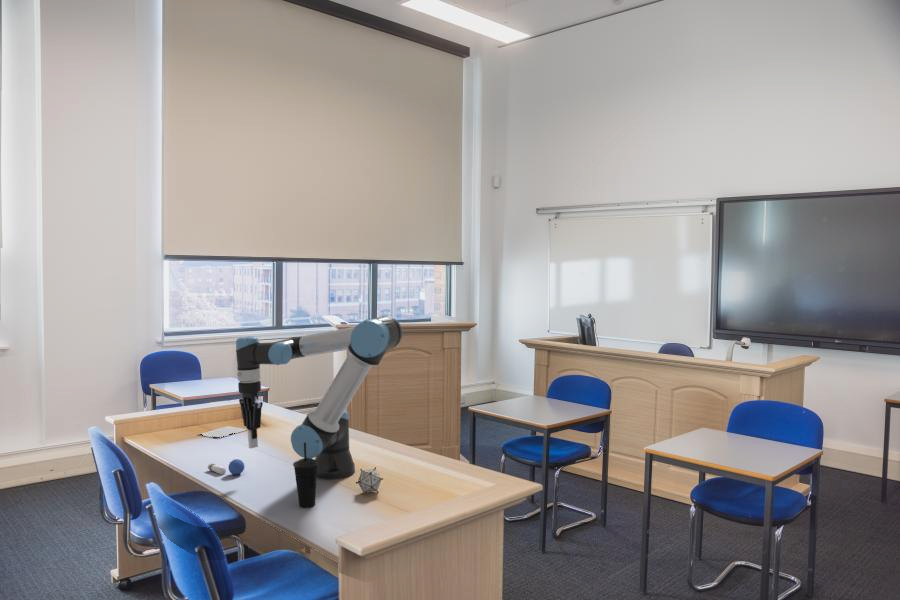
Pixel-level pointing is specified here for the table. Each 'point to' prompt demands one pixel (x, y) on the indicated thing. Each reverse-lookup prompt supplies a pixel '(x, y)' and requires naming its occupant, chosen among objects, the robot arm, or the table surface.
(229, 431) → the paper stack
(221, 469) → the pin
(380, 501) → the table surface
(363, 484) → the game die
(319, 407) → the robot arm
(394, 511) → the table surface
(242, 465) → the ball
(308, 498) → the drinking cup
